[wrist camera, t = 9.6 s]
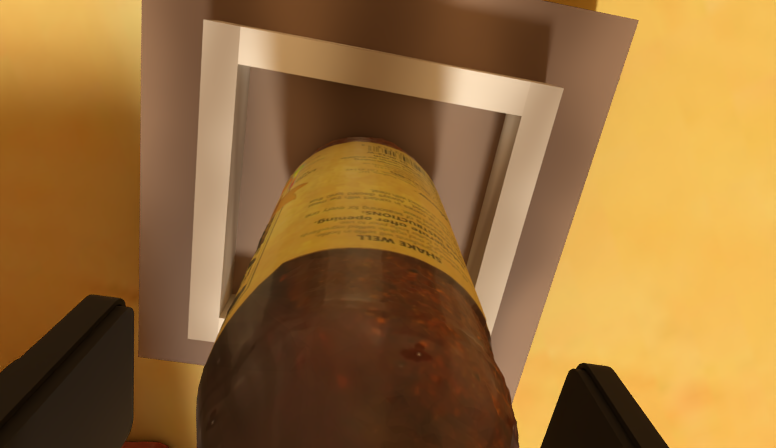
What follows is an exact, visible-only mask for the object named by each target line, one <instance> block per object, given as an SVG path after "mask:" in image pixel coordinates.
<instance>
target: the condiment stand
mask: <svg viewBox="0 0 776 448" xmlns="http://www.w3.org/2000/svg"><path fill="white" fill-rule="evenodd" d="M638 21H639V20H635V19H630V18H625V17H620V16H616V15H611V14H606V13H601V12H596V11H591V10H587V9H582V8H577V7H572V6H567V5H562V4H558V3H553V2H548V1H543V0H142V39H141V142H140V246H139V350H138V357H143V358H151V359H159V360H166V361H174V362H182V363H190V364H197V365H205V364H206V362H207V359H208V357H209V354H210V352H211V350H212V347H213V345H214V343H215V340H216V338H217V336H218V333H219V331H220V328H221V326H222V324H223V322H224V320H225V318H226V315H227V312H228V310H229V308H230V306H231V304H232V303H233V301H234V299H235V296H236V294H237V292H238V290H239V287H240V285H241V282H242V280H243V276H244V275H245V273H246V271H247V269H248V266H249V263H250V262H251V260H252V258H253V257H254V254H255V253H256V250H257V247H258V244H259V241H260V238H261V237H262V235H263V232H264V231H265V229H266V226H267V224H268V223H269V221H270V219H271V216H272V214H273V212H274V210H275V207H276V205H277V203H278V201H279V199H280V197H281V194H282V191H283V189H284V187H285V185H286V183H287V181H288V180H289V178H290V177H291V175H292V174H293V173H294V172H295V171H296V169H297V168H298V167H299V166H300V165H301V164H302V163H303V162H304V161H305V160H306V159H308V158H309V157H310V156H311V155H312V154H313V153H314V152H315V151H316V150H317V149H318V148H319V147H321V146H323V145H325V144H327V143H329V142H331V141H334V140H337V139H342V138H347V137H373V138H383V139H385V140H387V141H390V142H392V143H394V144H396V145H397V146H398V147H400V148H401V149H402V150H403V151H405V152H407V153H408V154H409V155H410V156H412V157H413V158H415V160H416V161H417V162H418V163H419V165H420V166H421V167H422V168H423V169H424V170H425V172H426V173H427V174H428V175H429V177H430V179H431V180H432V182H433V184H434V186H435V188H436V190H437V192H438V194H439V197H440V199H441V202H442V204H443V207H444V209H445V212H446V214H447V217H448V219H449V222H450V225H451V228H452V230H453V233H454V236H455V238H456V241H457V243H458V246H459V249H460V252H461V254H462V257H463V260H464V262H465V265H466V267H467V270H468V272H469V275H470V278H471V280H472V283H473V285H474V288H475V291H476V293H477V296H478V298H479V301H480V304H481V306H482V309H483V312H484V314H485V317H486V323H487V326H488V329H489V332H490V335H491V343H492V351H493V355H494V360H495V362H496V364H497V366H498V367H499V369H500V371H501V372H502V374H503V376H504V378H505V382H506V385H507V387H508V389H509V392H510V396H511V403H512V402H513V399H514V396H515V393H516V390H517V387H518V384H519V381H520V378H521V375H522V372H523V369H524V365H525V362H526V359H527V356H528V353H529V350H530V347H531V344H532V341H533V338H534V335H535V332H536V329H537V326H538V323H539V320H540V317H541V314H542V311H543V308H544V305H545V302H546V299H547V296H548V293H549V290H550V287H551V284H552V281H553V278H554V275H555V272H556V269H557V266H558V263H559V260H560V257H561V254H562V251H563V248H564V245H565V242H566V239H567V235H568V232H569V229H570V226H571V223H572V220H573V217H574V214H575V211H576V208H577V205H578V202H579V199H580V196H581V193H582V190H583V187H584V184H585V181H586V178H587V175H588V172H589V169H590V166H591V163H592V160H593V157H594V154H595V151H596V148H597V145H598V142H599V139H600V136H601V133H602V130H603V127H604V124H605V121H606V118H607V115H608V112H609V109H610V105H611V102H612V99H613V96H614V93H615V90H616V87H617V84H618V81H619V78H620V75H621V72H622V69H623V66H624V63H625V60H626V57H627V54H628V51H629V48H630V45H631V42H632V39H633V36H634V33H635V30H636V27H637V24H638Z"/></svg>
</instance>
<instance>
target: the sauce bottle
mask: <svg viewBox="0 0 776 448" xmlns="http://www.w3.org/2000/svg"><path fill="white" fill-rule="evenodd" d="M196 428H197V448H519V443H518V430H517V421H516V420H515V417H514V412H513V409H512V403H511V396H510V392H509V389H508V387H507V385H506V382H505V378H504V376H503V374H502V372H501V371H500V369H499V367H498V366H497V364H496V362H495V360H494V355H493V351H492V343H491V335H490V332H489V329H488V326H487V323H486V317H485V314H484V312H483V309H482V306H481V304H480V301H479V298H478V296H477V293H476V291H475V288H474V285H473V283H472V280H471V278H470V275H469V272H468V270H467V267H466V265H465V262H464V260H463V257H462V254H461V252H460V249H459V246H458V243H457V241H456V238H455V236H454V233H453V230H452V228H451V225H450V222H449V219H448V217H447V214H446V212H445V209H444V207H443V204H442V202H441V199H440V197H439V194H438V192H437V190H436V188H435V186H434V184H433V182H432V180H431V179H430V177H429V175H428V174H427V173H426V172H425V170H424V169H423V168H422V167H421V166H420V165H419V163H418V162H417V161H416V160H415V158H413V157H412V156H410V155H409V154H408V153H407V152H405V151H403V150H402V149H401V148H400V147H398V146H397V145H396V144H394V143H392V142H390V141H387V140H385V139H383V138H373V137H347V138H342V139H337V140H334V141H331V142H329V143H327V144H325V145H323V146H321V147H319V148H318V149H317V150H316V151H315V152H314V153H313V154H312V155H311V156H310V157H309V158H308V159H306V160H305V161H304V162H303V163H302V164H301V165H300V166H299V167H298V168H297V169H296V171H295V172H294V173H293V174H292V175H291V177H290V178H289V180H288V181H287V183H286V185H285V187H284V189H283V191H282V194H281V197H280V199H279V201H278V203H277V205H276V207H275V210H274V212H273V214H272V216H271V219H270V221H269V223H268V224H267V226H266V229H265V231H264V232H263V235H262V237H261V238H260V241H259V244H258V247H257V250H256V253H255V254H254V257H253V258H252V260H251V262H250V263H249V266H248V269H247V271H246V273H245V275H244V276H243V280H242V282H241V285H240V287H239V290H238V292H237V294H236V296H235V299H234V301H233V303H232V304H231V306H230V308H229V310H228V312H227V315H226V318H225V320H224V322H223V324H222V326H221V328H220V331H219V333H218V336H217V338H216V340H215V343H214V345H213V347H212V350H211V352H210V354H209V357H208V359H207V362H206V364H205V366H204V369H203V373H202V376H201V380H200V384H199V388H198V395H197V407H196Z"/></svg>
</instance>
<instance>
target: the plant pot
mask: <svg viewBox="0 0 776 448" xmlns="http://www.w3.org/2000/svg"><path fill="white" fill-rule="evenodd" d="M121 448H169V447H168V446H167V445H164V444H162V443H159V442H124V444H123V446H122V447H121Z"/></svg>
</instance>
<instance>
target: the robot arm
mask: <svg viewBox="0 0 776 448" xmlns="http://www.w3.org/2000/svg"><path fill="white" fill-rule="evenodd" d="M133 400H134V311H133V309H132V308H130V307H126V305H125V302H124V300H123V299H121V298H114V297H107V296H100V295H89V296H87V297H86V298H85V299H84V300H83V301H81V302H80V303H79V304H78V305H77V306H76V307H75V308H74V309H73V310H72V311H71V312H69V313H68V314H67V315H66V316H65V317H64V318H63V319H62V320H61V321H60V322H59V323H58V324H56V325H55V326H54V327H53V328H52V329H51V330H50V331H49V332H48V333H47V334H46V335H44V336H43V337H42V338H41V339H40V340H39V341H38V342H37V343H36V344H35V345H34V346H33V347H31V348H30V349H29V350H28V351H27V352H26V353H25V354H24V355H23V356H22V357H21V358H19V359H17V360H15V361H14V362H12V363H11V364H10V365H8V366H7V367H6V368H5V369H4V370H3V371H2V372H1V373H0V448H121V447H122V446H123V444H124V442H125V441H126V439H127V437H128V435H129V433H130V430H131V427H132V423H133ZM541 448H669V447H668V445H667V444H666V443H665V441H664V440H663V438H662V437H661V436H660V434H659V433H658V432H657V430H656V429H655V427H654V426H653V425H652V423H651V422H650V420H649V419H648V418H647V416H646V415H645V413H644V412H643V411H642V409H641V408H640V406H639V405H638V404H637V402H636V401H635V399H634V398H633V397H632V395H631V394H630V393H629V391H628V390H627V388H626V387H625V386H624V384H623V383H622V381H621V380H620V379H619V377H618V376H617V374H616V373H615V372H614V370H613V369H612V368H611V367H608V366H602V365H594V364H587V363H581V364H579V365H578V366H577V368H576V369H571V370H570V371H569V373H568V375H567V377H566V380H565V383H564V385H563V388H562V391H561V393H560V396H559V399H558V402H557V404H556V407H555V410H554V412H553V415H552V418H551V421H550V423H549V426H548V429H547V431H546V434H545V437H544V439H543V442H542V445H541Z"/></svg>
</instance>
